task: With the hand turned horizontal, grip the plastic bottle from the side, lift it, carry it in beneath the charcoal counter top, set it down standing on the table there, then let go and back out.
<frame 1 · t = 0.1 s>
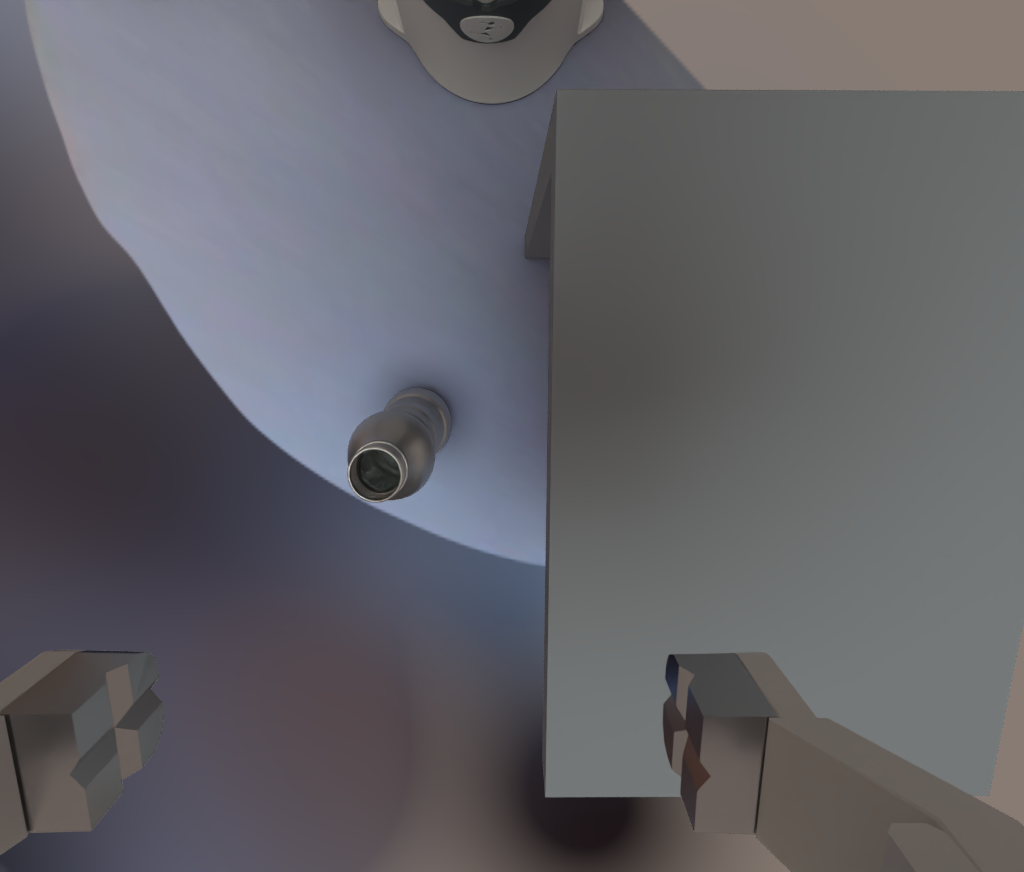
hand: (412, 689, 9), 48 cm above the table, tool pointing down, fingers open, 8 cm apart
plastic bottle: (421, 418, 57), on the table
counter: (618, 378, 56), on the table
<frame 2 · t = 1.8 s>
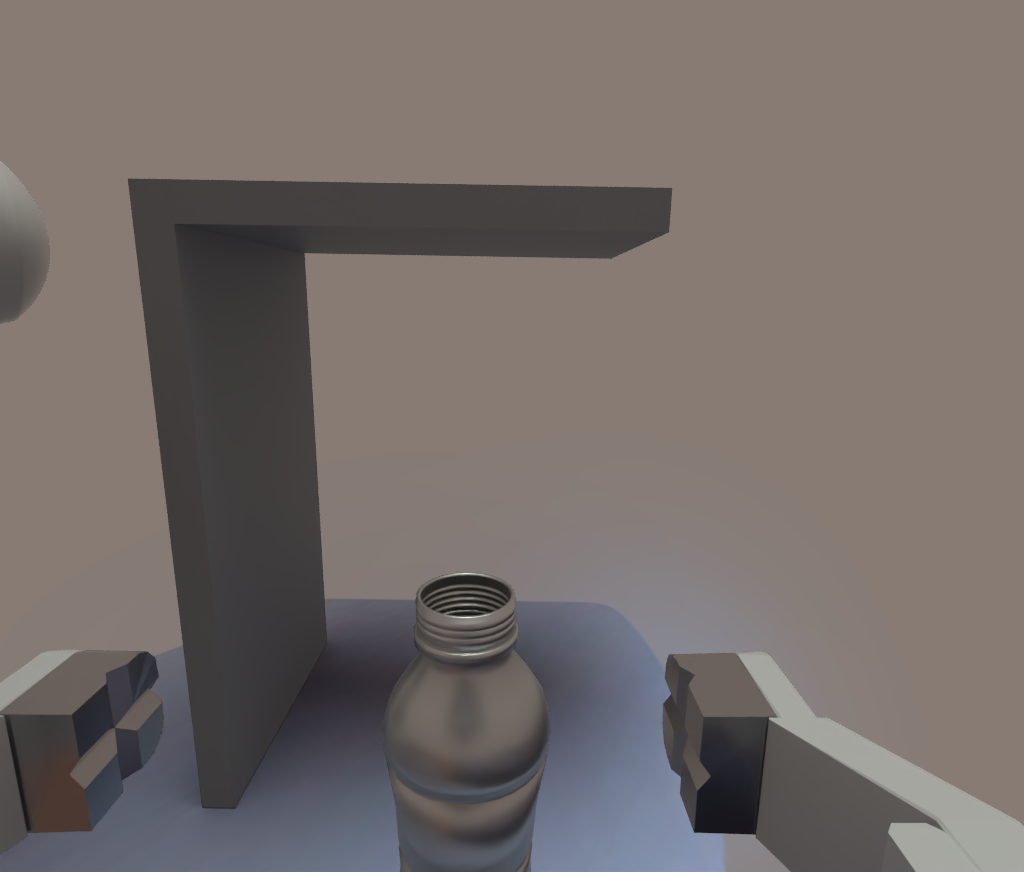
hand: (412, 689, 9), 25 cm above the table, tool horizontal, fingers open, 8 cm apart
counter: (434, 712, 45), on the table
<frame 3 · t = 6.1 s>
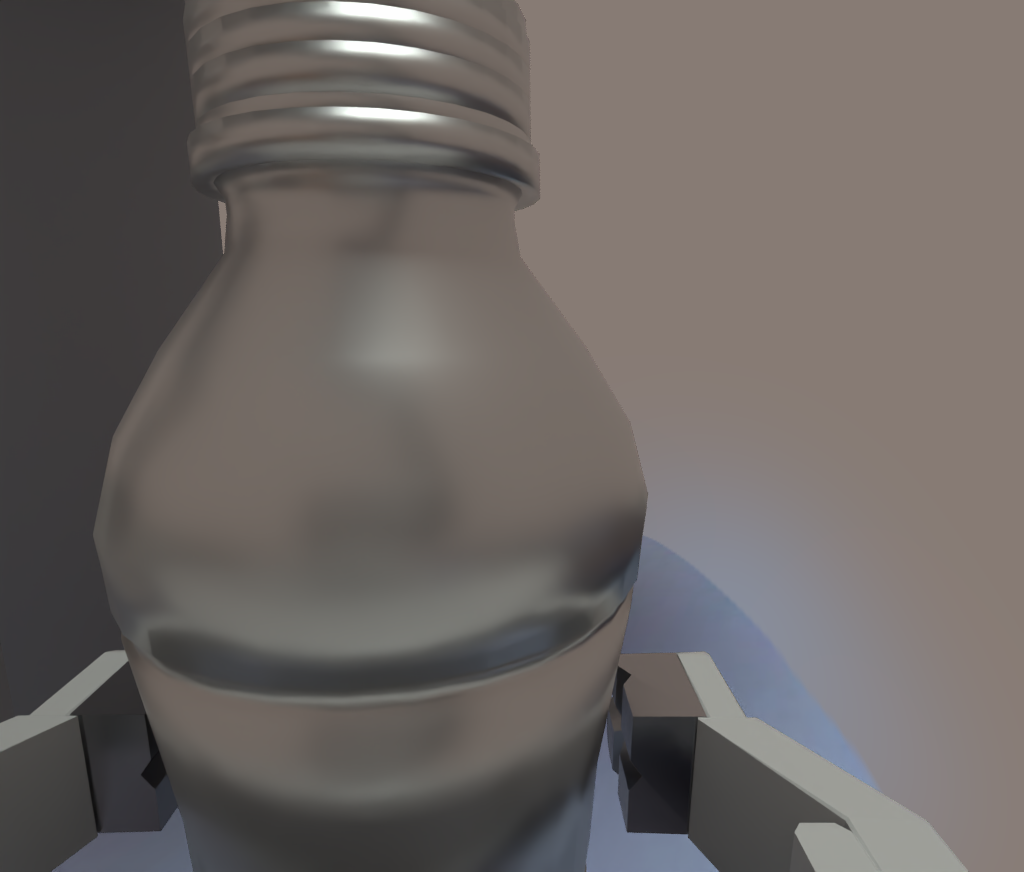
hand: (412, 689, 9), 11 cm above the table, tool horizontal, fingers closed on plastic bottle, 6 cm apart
counter: (397, 658, 29), on the table
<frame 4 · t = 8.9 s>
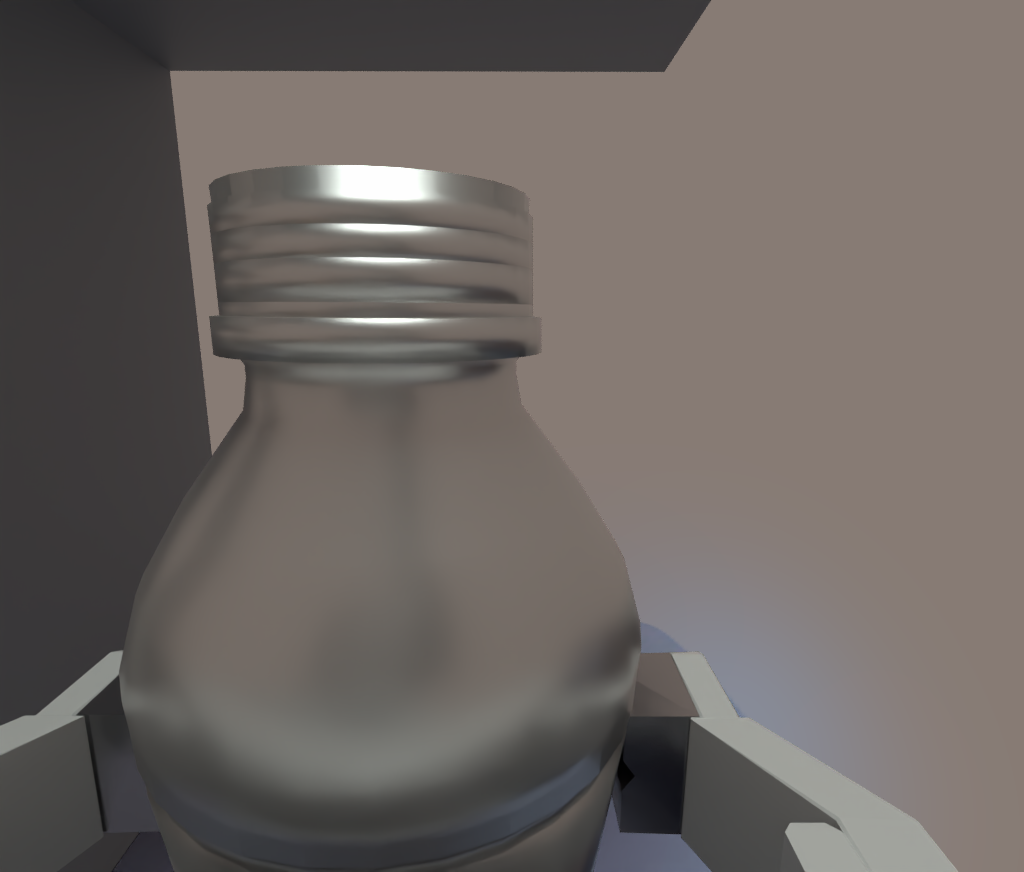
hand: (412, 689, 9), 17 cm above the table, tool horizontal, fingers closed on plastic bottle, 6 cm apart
counter: (390, 816, 27), on the table
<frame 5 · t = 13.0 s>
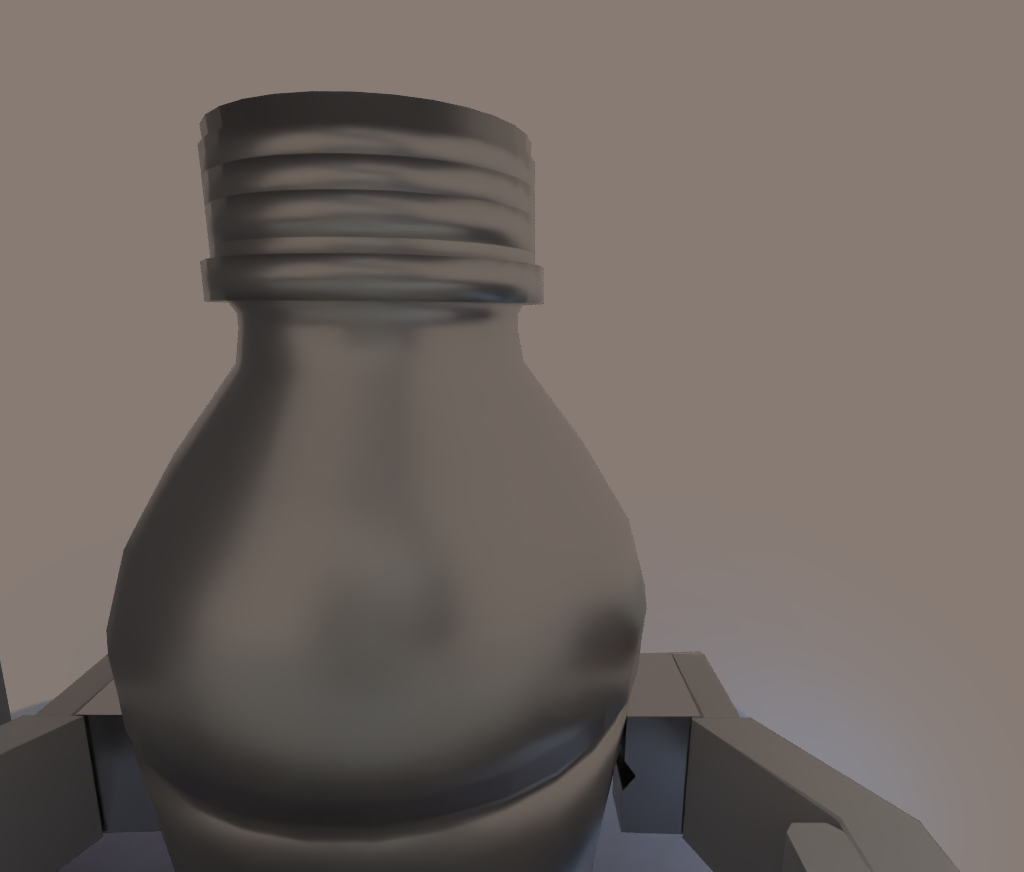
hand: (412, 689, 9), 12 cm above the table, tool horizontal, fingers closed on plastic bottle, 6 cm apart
when the fingers open (12 cm above the table, at t = 13.5 s): plastic bottle stays where it is, on the table.
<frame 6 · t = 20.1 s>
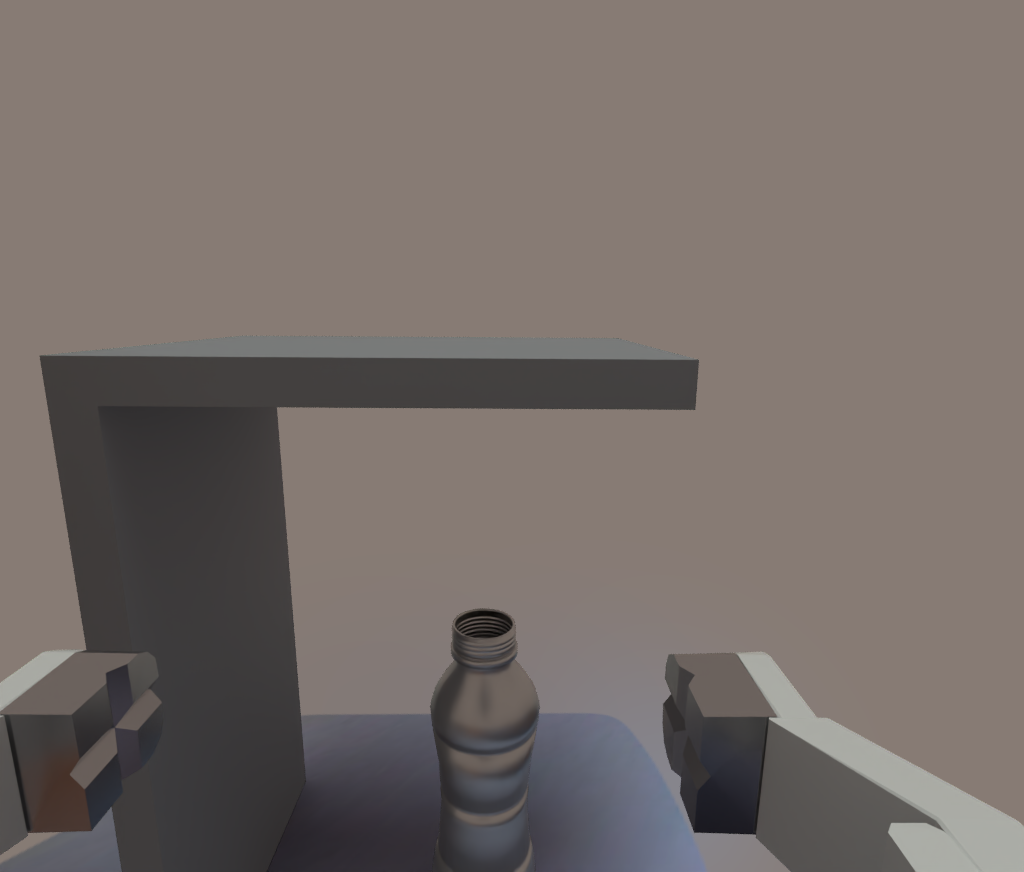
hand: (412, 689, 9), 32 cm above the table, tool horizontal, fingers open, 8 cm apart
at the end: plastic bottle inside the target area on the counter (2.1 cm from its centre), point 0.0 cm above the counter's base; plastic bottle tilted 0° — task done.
